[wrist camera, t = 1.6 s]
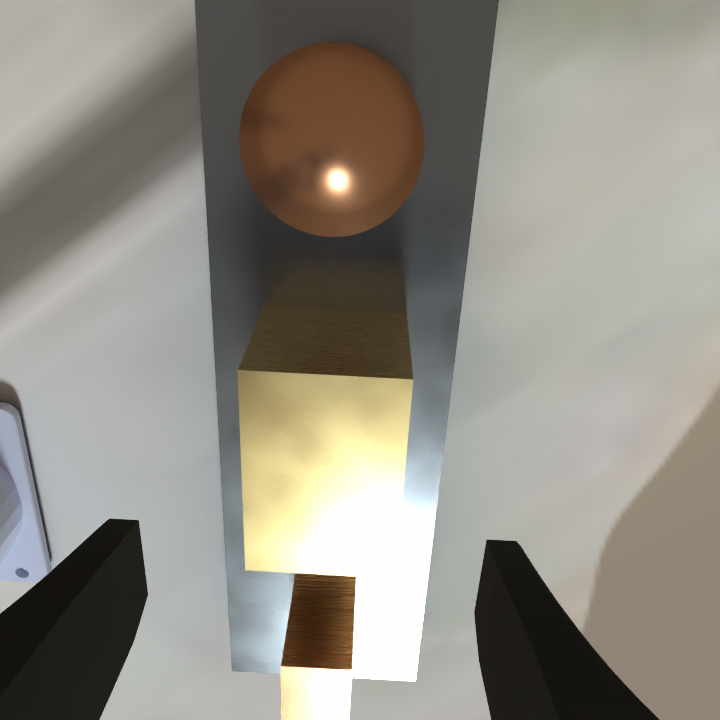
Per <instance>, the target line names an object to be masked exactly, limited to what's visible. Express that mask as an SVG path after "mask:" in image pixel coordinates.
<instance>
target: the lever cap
mask: <svg viewBox="0 0 720 720" xmlns="http://www.w3.org/2000/svg"><path fill="white" fill-rule="evenodd" d="M412 389H413V371H412V360H411V350H410V340H409V330H408V320H407V313H390V312H372V311H353V310H334V309H316V308H297V307H278V306H265V307H264V309H263V311H262V314H261V316H260V318H259V321H258V323H257V325H256V328H255V330H254V333H253V335H252V337H251V340H250V342H249V344H248V347H247V349H246V351H245V354H244V356H243V358H242V361H241V363H240V365H239V368H238V396H239V422H240V447H241V473H242V499H243V525H244V551H245V570H251V571H269V572H287V573H305V574H324V575H342V576H360V577H378V578H395V572H396V561H397V551H398V540H399V529H400V518H401V507H402V497H403V486H404V475H405V464H406V454H407V443H408V432H409V421H410V411H411V400H412Z"/></svg>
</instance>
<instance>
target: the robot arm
mask: <svg viewBox="0 0 720 720" xmlns="http://www.w3.org/2000/svg"><path fill="white" fill-rule="evenodd" d="M23 568H24V569H26V570H24V569H23ZM51 570H52V567H51V563H50V558H49V553H48V548H47V543H46V538H45V534H44V529H43V524H42V519H41V514H40V510H39V505H38V500H37V495H36V490H35V486H34V481H33V476H32V471H31V466H30V461H29V457H28V452H27V447H26V442H25V437H24V433H23V428H22V423H21V418H20V415H19V412H18V410H17V409H16V408H15V407H14V406H12V405H10V404H8V403H4V402H0V580H3V581H21V582H38V583H37V584H36V585H35V586H33V587H32V588H31V589H30V590H29V591H28V592H27V593H25V594H24V595H23V596H22V597H21V598H19V599H18V600H17V601H16V602H14V603H13V604H12V605H11V606H9V607H8V608H7V609H6V610H4V611H3V612H2V613H1V614H0V720H99V719H100V717H101V715H102V712H103V710H104V708H105V706H106V703H107V701H108V699H109V697H110V694H111V692H112V690H113V688H114V685H115V683H116V681H117V679H118V676H119V674H120V672H121V670H122V667H123V665H124V663H125V660H126V658H127V656H128V654H129V651H130V649H131V646H132V644H133V642H134V639H135V636H136V632H137V629H138V626H139V623H140V620H141V616H142V613H143V609H144V606H145V602H146V599H147V596H148V591H147V583H146V575H145V567H144V559H143V551H142V543H141V535H140V528H139V520H123V519H108V520H107V521H106V522H105V523H104V524H103V525H102V526H100V527H99V528H98V529H97V530H96V531H95V532H94V533H93V534H92V535H90V536H89V537H88V538H87V539H86V540H85V541H84V542H83V543H82V544H81V545H80V546H78V547H77V548H76V549H75V550H74V551H73V552H72V553H71V554H70V555H69V556H67V557H66V558H65V559H64V560H63V561H62V562H61V563H60V564H59V565H58V566H56V567H55V568H54V569H53V570H52V571H51ZM474 613H475V624H476V635H477V645H478V655H479V663H480V668H481V673H482V677H483V682H484V687H485V692H486V696H487V701H488V706H489V710H490V715H491V720H659V719H658V718H657V717H656V716H655V715H654V714H653V713H652V712H651V711H650V710H649V709H648V708H647V707H646V706H645V705H644V704H643V703H642V702H641V701H640V700H639V699H638V698H637V697H636V696H635V695H634V693H633V692H632V691H631V690H630V689H629V688H628V687H627V686H626V685H625V684H624V683H623V682H622V681H621V680H620V679H619V677H618V676H617V675H616V674H615V673H614V672H613V671H612V670H611V668H610V667H609V666H608V665H607V664H606V663H605V662H604V660H603V659H602V658H601V657H600V656H599V654H598V653H597V652H596V651H595V649H594V648H593V647H592V646H591V645H590V643H589V642H588V641H587V640H586V638H585V637H584V636H583V635H582V633H581V632H580V631H579V630H578V628H577V627H576V626H575V624H574V623H573V622H572V620H571V619H570V618H569V616H568V615H567V614H566V612H565V611H564V610H563V608H562V607H561V606H560V604H559V603H558V601H557V600H556V599H555V597H554V596H553V594H552V593H551V592H550V590H549V589H548V587H547V586H546V584H545V583H544V581H543V580H542V578H541V577H540V575H539V574H538V572H537V571H536V569H535V568H534V566H533V565H532V563H531V562H530V560H529V558H528V557H527V555H526V554H525V552H524V551H523V549H522V547H521V546H520V545H519V544H518V543H517V541H503V540H487V541H486V547H485V553H484V559H483V565H482V571H481V577H480V583H479V588H478V594H477V600H476V606H475V612H474Z"/></svg>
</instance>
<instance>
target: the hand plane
mask: <svg viewBox="0 0 720 720" xmlns="http://www.w3.org/2000/svg"><path fill="white" fill-rule="evenodd" d="M498 2H499V0H195V10H196V28H197V46H198V64H199V82H200V100H201V118H202V136H203V154H204V173H205V191H206V209H207V227H208V245H209V263H210V281H211V299H212V318H213V336H214V354H215V372H216V390H217V408H218V426H219V444H220V462H221V481H222V499H223V517H224V535H225V553H226V571H227V589H228V607H229V626H230V644H231V662H232V671H239V672H257V673H275V674H281V720H349V714H350V697H351V680H352V678H366V679H384V680H402V681H416V674H417V665H418V657H419V649H420V641H421V633H422V624H423V616H424V608H425V600H426V592H427V584H428V575H429V567H430V559H431V551H432V543H433V534H434V526H435V518H436V510H437V502H438V493H439V485H440V477H441V469H442V461H443V453H444V444H445V436H446V428H447V420H448V412H449V403H450V395H451V387H452V379H453V371H454V363H455V354H456V346H457V338H458V330H459V322H460V313H461V305H462V297H463V289H464V281H465V272H466V264H467V256H468V248H469V240H470V232H471V223H472V215H473V207H474V199H475V191H476V182H477V174H478V166H479V158H480V150H481V142H482V133H483V125H484V117H485V109H486V101H487V92H488V84H489V76H490V68H491V60H492V51H493V43H494V35H495V27H496V19H497V11H498ZM265 306H278V307H297V308H316V309H334V310H353V311H372V312H390V313H407V320H408V330H409V340H410V350H411V360H412V371H413V389H412V400H411V411H410V421H409V432H408V443H407V454H406V464H405V475H404V486H403V497H402V507H401V518H400V529H399V540H398V551H397V561H396V572H395V578H378V577H360V576H342V575H324V574H305V573H287V572H269V571H251V570H245V551H244V525H243V499H242V473H241V447H240V422H239V396H238V368H239V365H240V363H241V361H242V358H243V356H244V354H245V351H246V349H247V347H248V344H249V342H250V340H251V337H252V335H253V333H254V330H255V328H256V325H257V323H258V321H259V318H260V316H261V314H262V311H263V309H264V307H265Z"/></svg>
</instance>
